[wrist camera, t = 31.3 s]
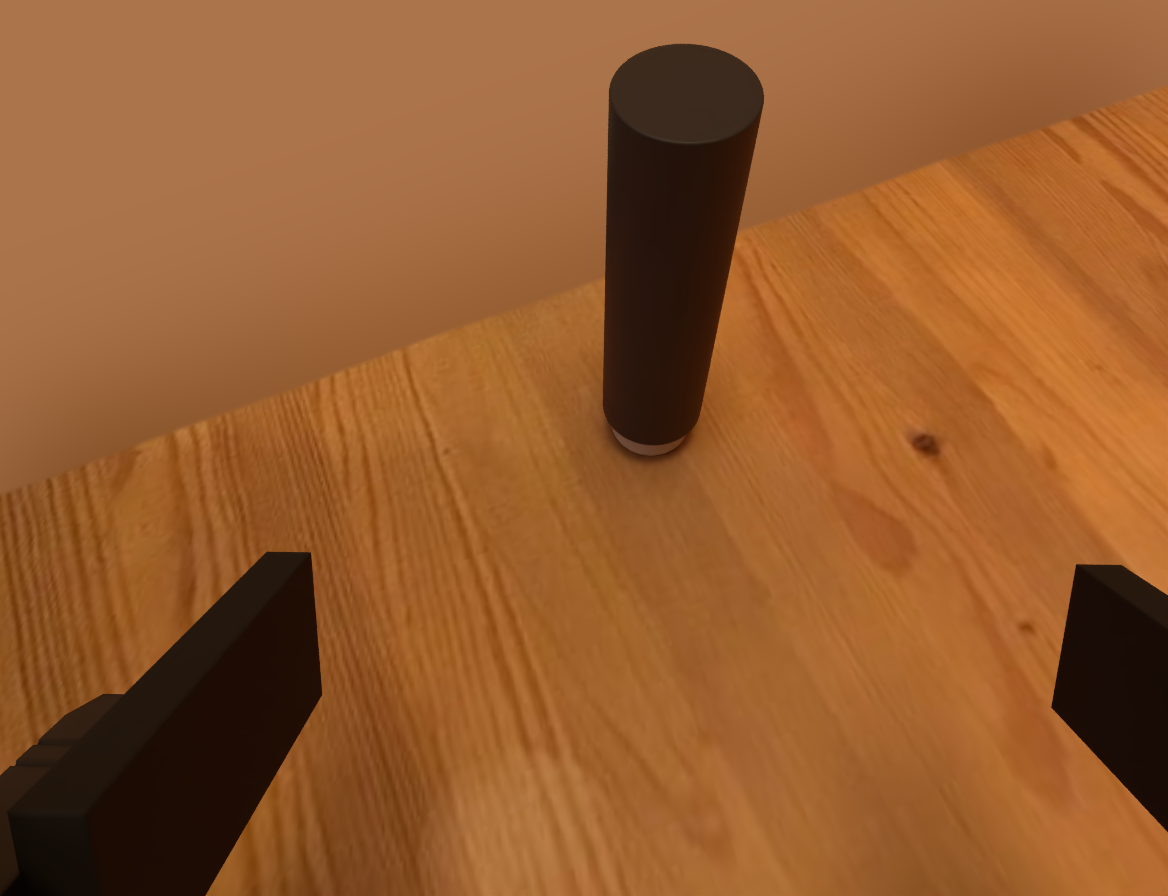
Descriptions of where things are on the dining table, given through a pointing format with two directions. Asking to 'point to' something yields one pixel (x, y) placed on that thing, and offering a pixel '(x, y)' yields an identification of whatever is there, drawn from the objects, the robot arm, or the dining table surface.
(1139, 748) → the robot arm
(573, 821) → the dining table surface
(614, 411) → the dark brown cylinder
